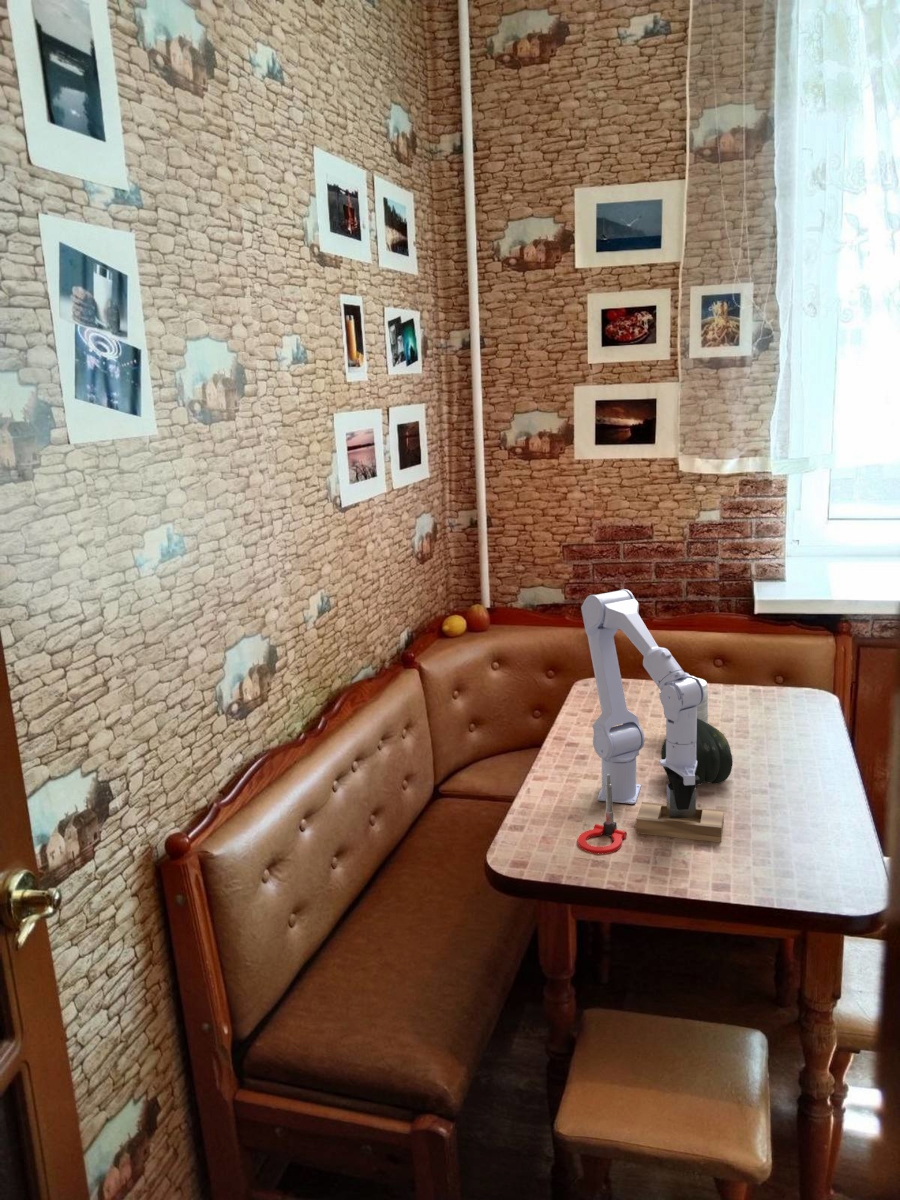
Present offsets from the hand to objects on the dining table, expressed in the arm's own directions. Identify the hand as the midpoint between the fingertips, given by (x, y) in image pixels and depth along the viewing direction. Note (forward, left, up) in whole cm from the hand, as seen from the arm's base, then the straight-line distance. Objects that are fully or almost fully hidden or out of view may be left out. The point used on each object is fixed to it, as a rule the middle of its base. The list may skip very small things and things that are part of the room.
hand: (680, 804), depth 188 cm
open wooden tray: (0, 0, -5) cm, 5 cm away
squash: (-25, +1, -5) cm, 25 cm away
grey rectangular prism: (0, 0, -2) cm, 2 cm away
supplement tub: (-49, -3, -5) cm, 49 cm away
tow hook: (+9, -14, -5) cm, 18 cm away
